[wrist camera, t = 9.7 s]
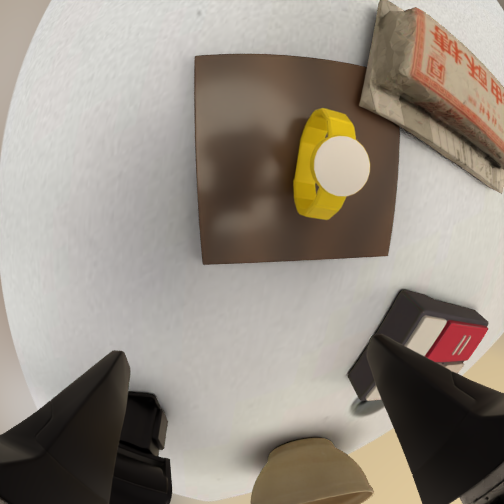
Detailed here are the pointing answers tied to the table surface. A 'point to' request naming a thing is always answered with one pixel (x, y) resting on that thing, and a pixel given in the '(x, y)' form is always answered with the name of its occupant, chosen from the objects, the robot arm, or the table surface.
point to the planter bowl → (310, 476)
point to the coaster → (283, 160)
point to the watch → (328, 165)
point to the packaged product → (436, 91)
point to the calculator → (424, 336)
